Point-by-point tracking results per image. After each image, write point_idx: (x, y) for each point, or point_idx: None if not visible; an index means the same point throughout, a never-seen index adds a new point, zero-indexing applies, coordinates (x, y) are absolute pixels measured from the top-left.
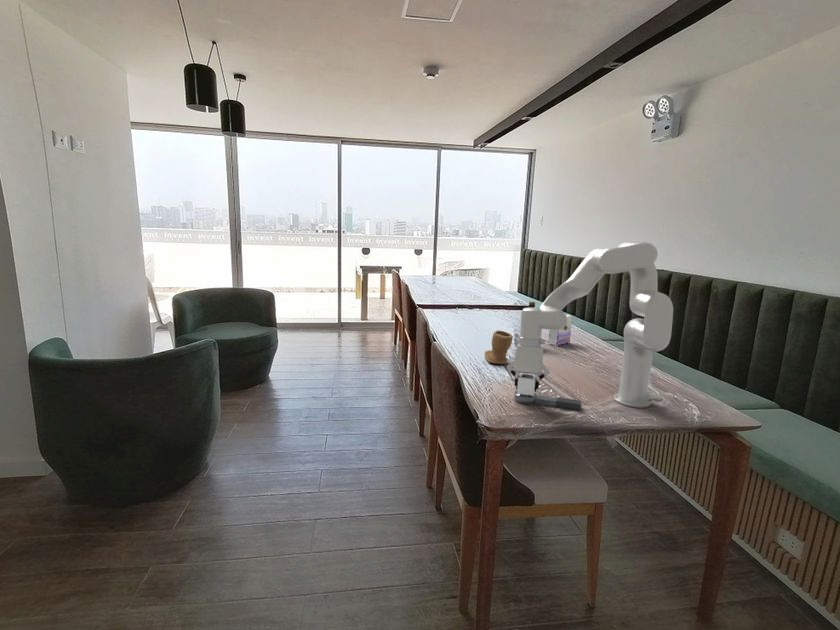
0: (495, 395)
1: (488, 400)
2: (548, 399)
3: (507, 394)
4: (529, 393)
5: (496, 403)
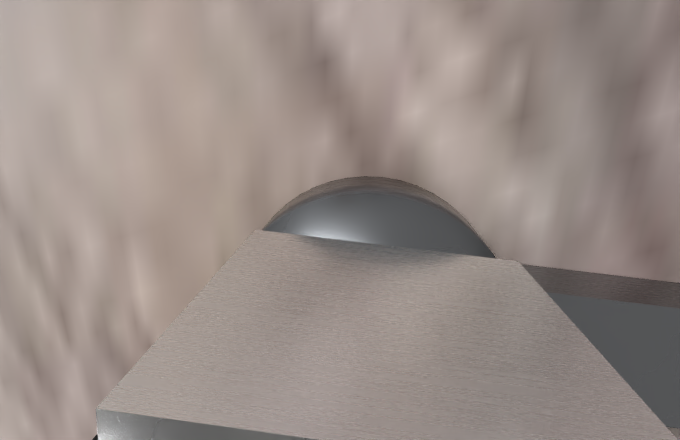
0: (33, 234)
1: (5, 385)
2: (657, 396)
3: (156, 161)
4: None
5: (92, 435)
